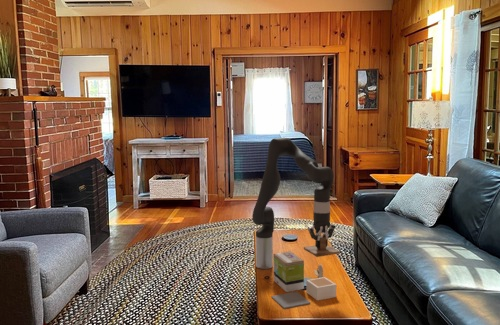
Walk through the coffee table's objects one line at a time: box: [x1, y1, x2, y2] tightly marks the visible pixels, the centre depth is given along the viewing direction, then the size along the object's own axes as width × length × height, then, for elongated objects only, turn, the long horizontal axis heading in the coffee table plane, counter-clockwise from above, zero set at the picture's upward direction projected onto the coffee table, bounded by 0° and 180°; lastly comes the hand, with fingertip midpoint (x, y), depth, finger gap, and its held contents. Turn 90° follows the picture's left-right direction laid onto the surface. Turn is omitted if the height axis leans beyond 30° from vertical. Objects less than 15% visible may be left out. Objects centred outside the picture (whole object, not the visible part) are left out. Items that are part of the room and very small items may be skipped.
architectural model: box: [313, 263, 324, 278], centre depth 225 cm, size 3×7×7 cm, turn 2°
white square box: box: [306, 276, 337, 301], centre depth 205 cm, size 10×10×6 cm
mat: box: [271, 291, 311, 310], centre depth 200 cm, size 13×13×1 cm
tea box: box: [273, 250, 305, 293], centre depth 216 cm, size 15×10×15 cm, turn 21°
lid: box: [303, 234, 341, 258], centre depth 203 cm, size 12×12×7 cm
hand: (321, 247), depth 203 cm, fingers closed on lid, 3 cm apart
